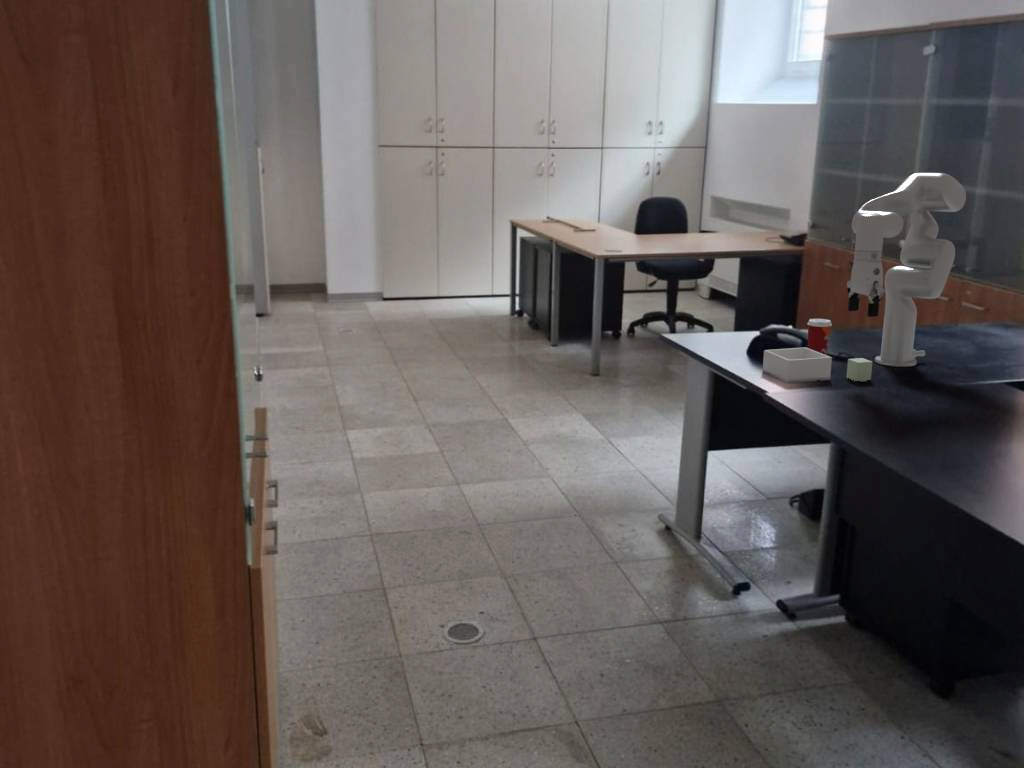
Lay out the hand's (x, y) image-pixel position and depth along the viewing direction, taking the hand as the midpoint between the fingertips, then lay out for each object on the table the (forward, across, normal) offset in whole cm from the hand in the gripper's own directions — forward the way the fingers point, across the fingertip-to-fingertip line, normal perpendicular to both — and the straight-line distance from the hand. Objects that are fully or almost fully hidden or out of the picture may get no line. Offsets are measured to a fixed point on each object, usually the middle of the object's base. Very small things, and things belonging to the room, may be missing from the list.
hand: (862, 313), depth 270 cm
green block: (+20, 0, 0) cm, 20 cm away
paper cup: (+21, +23, 0) cm, 31 cm away
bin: (+20, +8, +16) cm, 27 cm away
